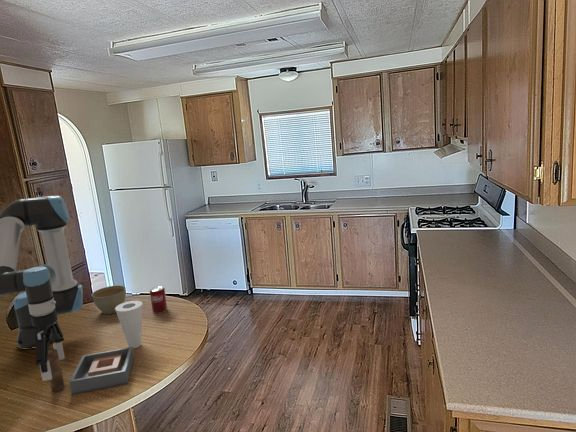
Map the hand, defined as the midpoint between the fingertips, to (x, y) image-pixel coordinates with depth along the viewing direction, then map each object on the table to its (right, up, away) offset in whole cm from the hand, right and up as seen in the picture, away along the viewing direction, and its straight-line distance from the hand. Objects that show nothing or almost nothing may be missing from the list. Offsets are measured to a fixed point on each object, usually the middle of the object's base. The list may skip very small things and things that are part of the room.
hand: (54, 369), depth 138 cm
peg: (0, -8, +2) cm, 8 cm away
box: (+14, -5, +8) cm, 17 cm away
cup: (+17, -1, +29) cm, 34 cm away
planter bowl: (-10, +4, +68) cm, 69 cm away
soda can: (+16, +5, +63) cm, 66 cm away
